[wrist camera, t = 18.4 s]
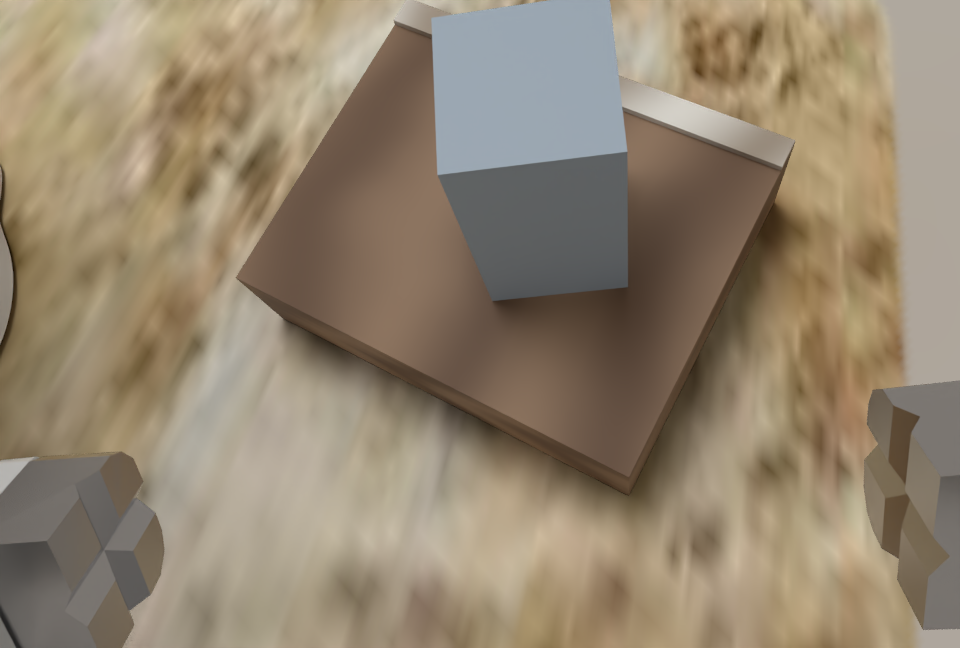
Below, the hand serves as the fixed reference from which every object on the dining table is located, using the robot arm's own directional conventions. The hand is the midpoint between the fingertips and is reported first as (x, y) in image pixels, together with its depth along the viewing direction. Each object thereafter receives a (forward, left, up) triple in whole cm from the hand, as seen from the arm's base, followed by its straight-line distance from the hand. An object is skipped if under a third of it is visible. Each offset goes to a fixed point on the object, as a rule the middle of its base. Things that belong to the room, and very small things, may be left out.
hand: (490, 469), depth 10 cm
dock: (-8, +10, -26) cm, 29 cm away
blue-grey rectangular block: (-6, +10, -21) cm, 24 cm away
